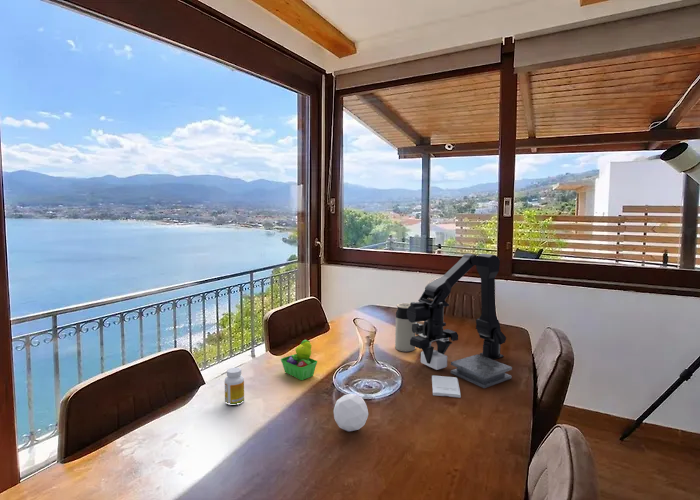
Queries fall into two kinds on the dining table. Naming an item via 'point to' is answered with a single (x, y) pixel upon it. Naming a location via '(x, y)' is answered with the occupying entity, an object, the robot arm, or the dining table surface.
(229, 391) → the supplement bottle
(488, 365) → the stand
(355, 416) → the white low-poly ball
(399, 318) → the travel mug
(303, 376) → the fruit basket
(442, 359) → the block
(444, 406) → the dining table surface
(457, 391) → the external hard drive
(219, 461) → the dining table surface
